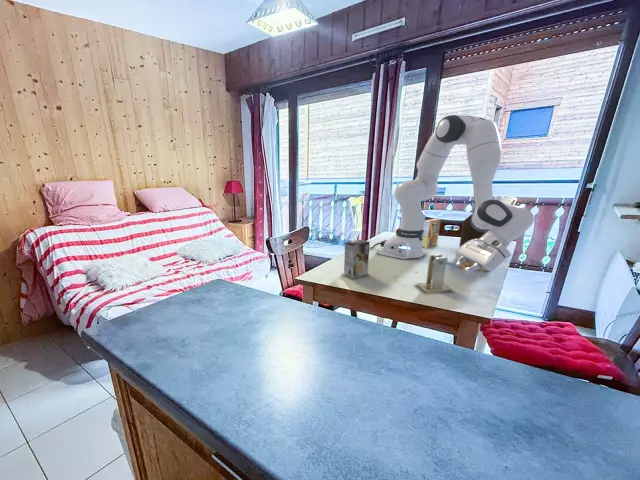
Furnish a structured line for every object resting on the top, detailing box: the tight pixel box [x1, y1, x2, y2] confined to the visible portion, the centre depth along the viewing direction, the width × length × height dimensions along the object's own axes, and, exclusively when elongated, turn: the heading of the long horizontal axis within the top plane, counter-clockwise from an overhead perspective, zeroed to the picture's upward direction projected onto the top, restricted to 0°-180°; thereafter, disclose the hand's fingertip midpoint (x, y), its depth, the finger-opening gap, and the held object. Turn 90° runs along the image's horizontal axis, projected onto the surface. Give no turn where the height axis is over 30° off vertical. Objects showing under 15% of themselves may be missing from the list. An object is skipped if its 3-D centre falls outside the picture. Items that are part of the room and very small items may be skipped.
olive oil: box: [458, 205, 486, 248], centre depth 167 cm, size 11×11×25 cm
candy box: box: [422, 218, 442, 249], centre depth 186 cm, size 9×4×15 cm, turn 116°
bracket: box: [416, 253, 452, 293], centre depth 130 cm, size 10×8×14 cm
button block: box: [461, 260, 489, 272], centre depth 154 cm, size 12×10×4 cm
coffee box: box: [343, 239, 371, 278], centre depth 149 cm, size 9×6×16 cm
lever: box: [432, 256, 466, 271], centre depth 129 cm, size 13×6×2 cm, turn 90°
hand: (461, 269), depth 130 cm, fingers closed on lever, 5 cm apart
